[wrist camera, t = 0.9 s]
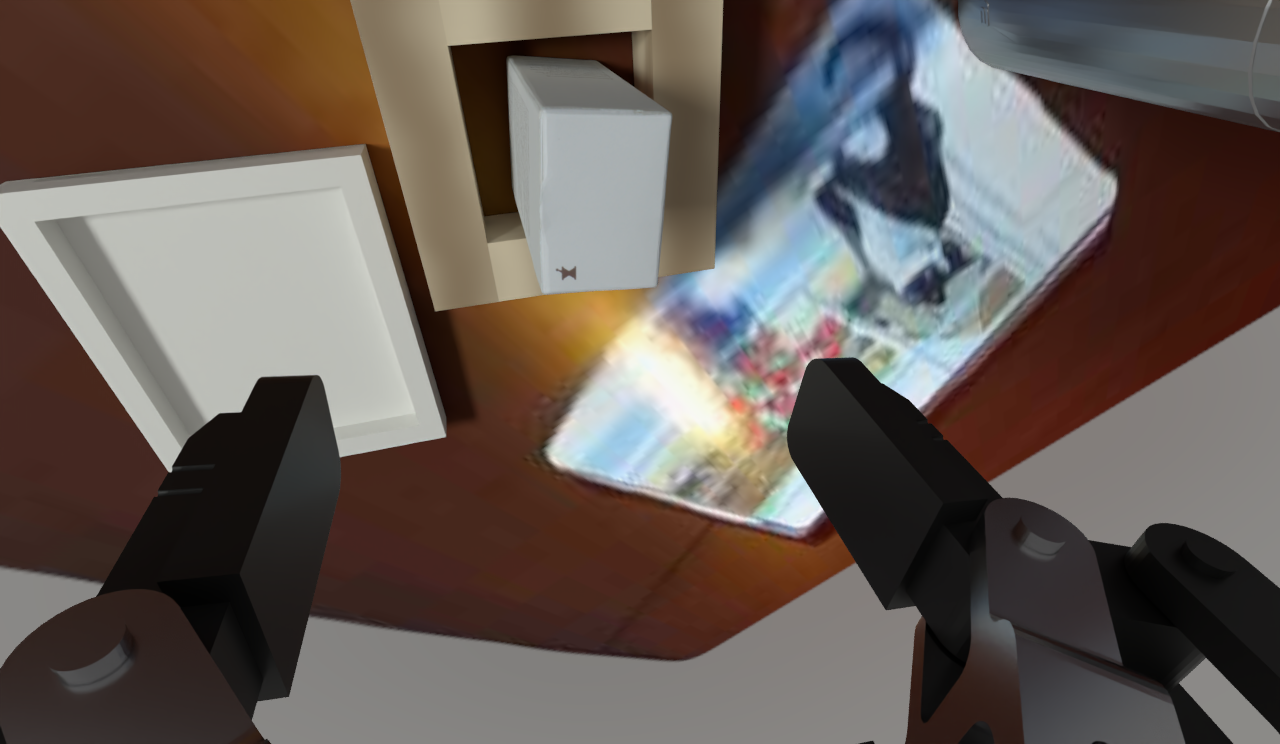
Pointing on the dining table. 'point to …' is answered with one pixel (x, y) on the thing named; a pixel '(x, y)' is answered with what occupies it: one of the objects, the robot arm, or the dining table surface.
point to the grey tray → (233, 290)
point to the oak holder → (439, 145)
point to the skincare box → (587, 174)
